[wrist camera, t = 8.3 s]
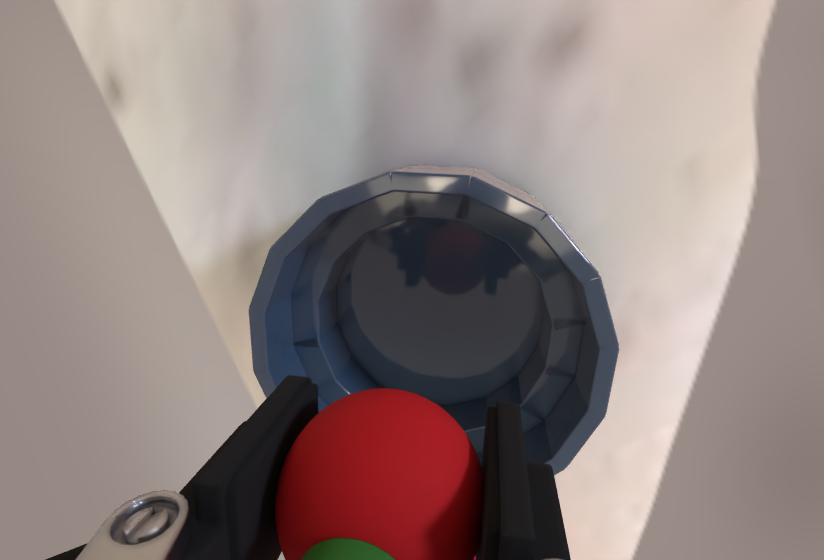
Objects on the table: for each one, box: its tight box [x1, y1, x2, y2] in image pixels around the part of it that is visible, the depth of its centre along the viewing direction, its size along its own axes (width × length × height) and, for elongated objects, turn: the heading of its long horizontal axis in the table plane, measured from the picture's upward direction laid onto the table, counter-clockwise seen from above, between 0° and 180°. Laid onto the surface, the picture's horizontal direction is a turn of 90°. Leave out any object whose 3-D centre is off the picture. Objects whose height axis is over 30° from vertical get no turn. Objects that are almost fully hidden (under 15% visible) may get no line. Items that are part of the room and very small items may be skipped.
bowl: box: [249, 165, 619, 475], centre depth 17 cm, size 12×12×5 cm
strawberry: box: [275, 388, 484, 560], centre depth 9 cm, size 4×4×5 cm
